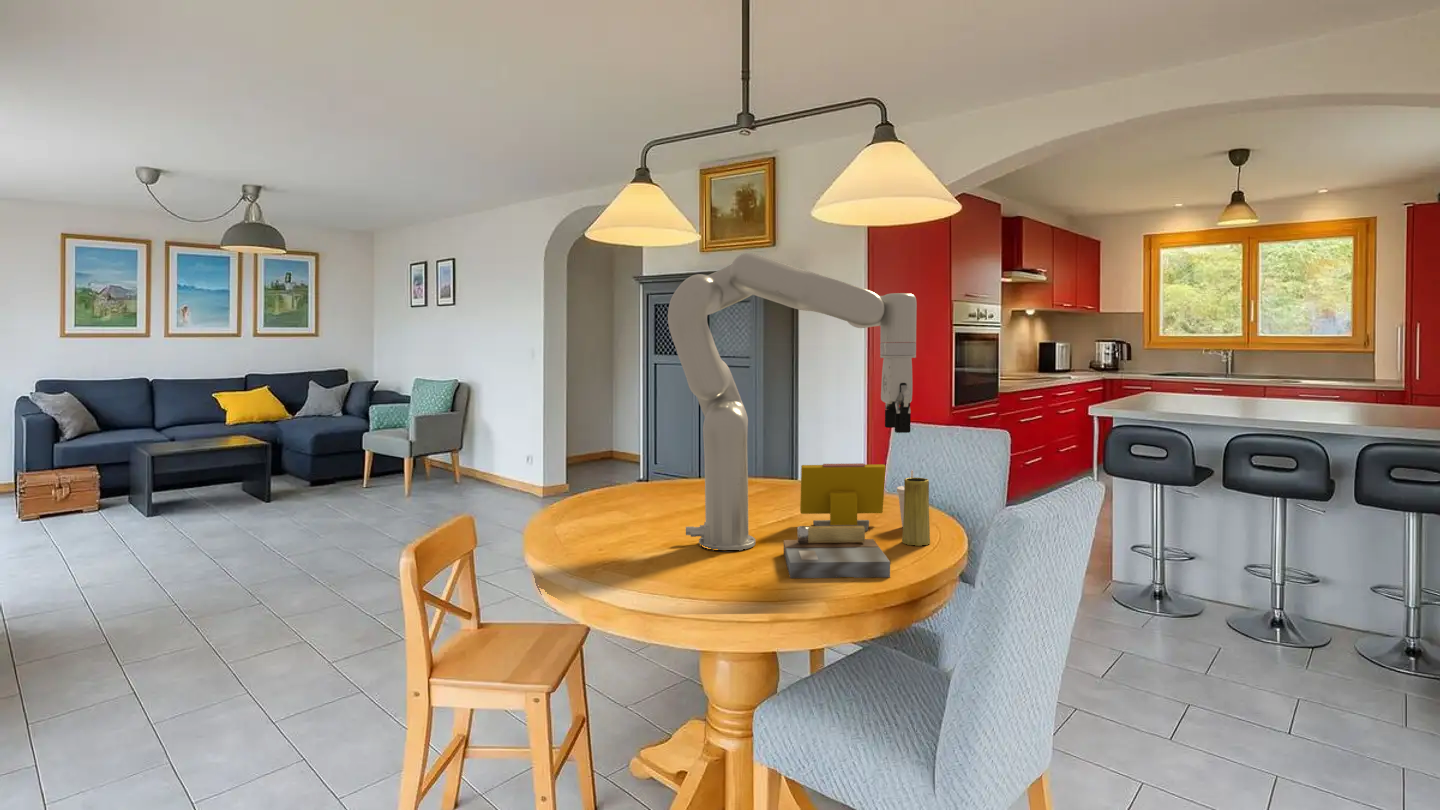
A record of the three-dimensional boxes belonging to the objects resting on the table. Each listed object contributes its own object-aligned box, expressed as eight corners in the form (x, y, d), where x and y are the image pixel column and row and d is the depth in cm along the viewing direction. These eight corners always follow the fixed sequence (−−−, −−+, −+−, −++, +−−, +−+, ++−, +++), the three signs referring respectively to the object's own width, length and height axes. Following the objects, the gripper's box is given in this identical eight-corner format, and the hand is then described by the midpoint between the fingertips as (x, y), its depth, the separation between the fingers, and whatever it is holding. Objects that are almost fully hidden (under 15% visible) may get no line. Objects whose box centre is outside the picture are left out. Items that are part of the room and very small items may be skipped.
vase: (931, 547, 168) (931, 482, 167) (902, 545, 169) (902, 481, 168) (929, 539, 174) (929, 477, 173) (901, 538, 175) (901, 476, 174)
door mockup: (790, 578, 147) (790, 562, 147) (783, 553, 164) (783, 539, 164) (890, 577, 147) (890, 561, 146) (873, 553, 164) (873, 538, 163)
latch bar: (798, 543, 159) (798, 528, 159) (797, 540, 162) (796, 526, 162) (865, 542, 159) (865, 528, 159) (862, 539, 162) (862, 525, 162)
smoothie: (908, 532, 181) (909, 473, 180) (890, 526, 187) (891, 469, 186) (929, 528, 184) (930, 470, 183) (911, 523, 190) (911, 467, 189)
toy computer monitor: (881, 523, 190) (881, 460, 189) (887, 531, 182) (887, 465, 181) (800, 524, 191) (800, 461, 190) (802, 531, 183) (802, 466, 182)
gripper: (872, 350, 175) (872, 425, 176) (889, 351, 158) (888, 434, 159) (905, 350, 175) (904, 425, 176) (926, 351, 158) (924, 434, 159)
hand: (897, 429), depth 168 cm, fingers open, 9 cm apart
